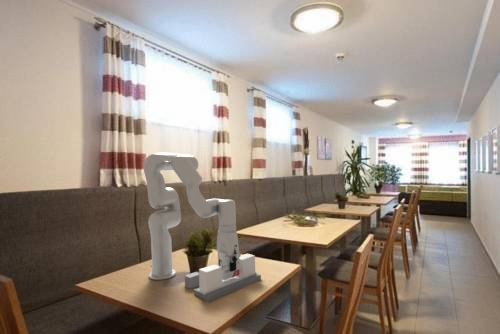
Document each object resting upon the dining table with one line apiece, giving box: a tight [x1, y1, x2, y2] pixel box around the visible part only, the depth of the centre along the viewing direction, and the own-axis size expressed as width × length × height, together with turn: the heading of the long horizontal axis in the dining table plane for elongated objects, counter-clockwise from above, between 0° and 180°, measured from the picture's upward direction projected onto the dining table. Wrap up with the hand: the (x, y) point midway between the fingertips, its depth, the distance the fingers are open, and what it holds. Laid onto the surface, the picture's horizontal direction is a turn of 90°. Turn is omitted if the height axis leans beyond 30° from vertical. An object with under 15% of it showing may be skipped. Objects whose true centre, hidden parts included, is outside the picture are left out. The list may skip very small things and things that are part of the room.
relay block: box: [184, 271, 199, 290], centre depth 133 cm, size 4×6×5 cm, turn 135°
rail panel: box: [193, 253, 262, 303], centre depth 131 cm, size 10×30×11 cm, turn 135°
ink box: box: [217, 251, 239, 280], centre depth 131 cm, size 9×5×12 cm, turn 130°
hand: (228, 268), depth 131 cm, fingers closed on ink box, 5 cm apart
